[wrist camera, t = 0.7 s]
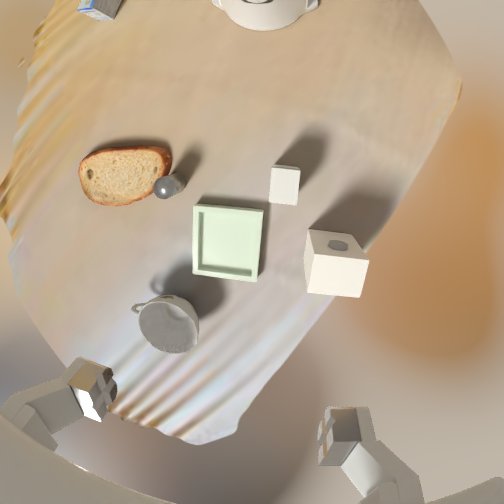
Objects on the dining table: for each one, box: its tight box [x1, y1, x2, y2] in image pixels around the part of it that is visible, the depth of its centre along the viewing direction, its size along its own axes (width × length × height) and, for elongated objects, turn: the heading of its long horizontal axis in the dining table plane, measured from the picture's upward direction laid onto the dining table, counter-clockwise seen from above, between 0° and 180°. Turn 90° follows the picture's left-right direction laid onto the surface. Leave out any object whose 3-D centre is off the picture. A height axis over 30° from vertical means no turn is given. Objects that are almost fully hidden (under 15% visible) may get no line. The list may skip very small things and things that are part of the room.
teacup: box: [131, 295, 199, 354], centre depth 55 cm, size 15×12×8 cm
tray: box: [193, 203, 264, 282], centre depth 51 cm, size 13×12×2 cm
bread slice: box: [79, 146, 172, 206], centre depth 48 cm, size 18×18×4 cm
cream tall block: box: [303, 229, 369, 297], centre depth 44 cm, size 7×8×12 cm
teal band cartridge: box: [269, 164, 300, 205], centre depth 43 cm, size 5×4×8 cm
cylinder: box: [153, 173, 186, 199], centre depth 46 cm, size 4×4×6 cm
